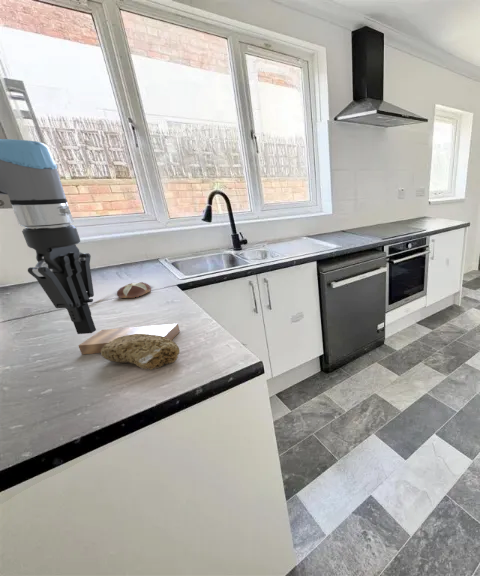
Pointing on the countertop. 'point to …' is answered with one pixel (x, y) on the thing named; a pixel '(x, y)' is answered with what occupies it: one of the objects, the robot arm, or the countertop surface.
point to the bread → (133, 290)
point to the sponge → (141, 350)
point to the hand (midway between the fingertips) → (87, 332)
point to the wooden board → (108, 335)
